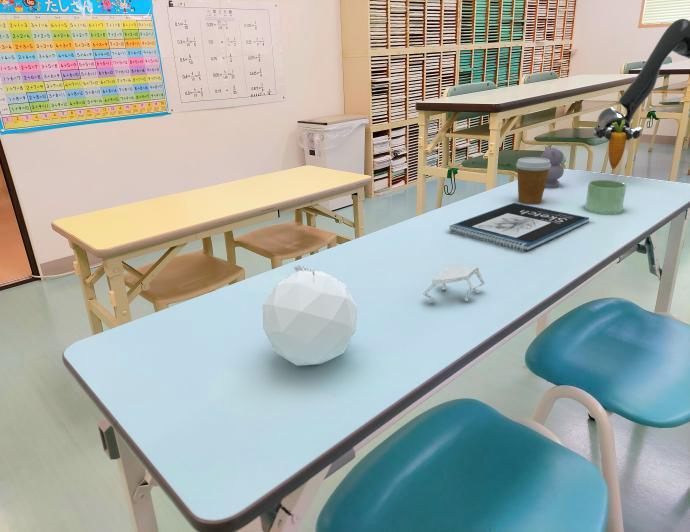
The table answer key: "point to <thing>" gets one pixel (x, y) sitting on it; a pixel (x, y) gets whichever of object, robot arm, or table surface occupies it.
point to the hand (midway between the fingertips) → (619, 136)
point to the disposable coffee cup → (532, 178)
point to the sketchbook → (519, 226)
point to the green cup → (605, 196)
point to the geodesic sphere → (309, 317)
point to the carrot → (617, 144)
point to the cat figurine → (553, 166)
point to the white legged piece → (456, 278)
